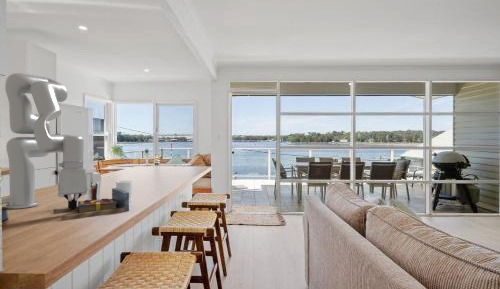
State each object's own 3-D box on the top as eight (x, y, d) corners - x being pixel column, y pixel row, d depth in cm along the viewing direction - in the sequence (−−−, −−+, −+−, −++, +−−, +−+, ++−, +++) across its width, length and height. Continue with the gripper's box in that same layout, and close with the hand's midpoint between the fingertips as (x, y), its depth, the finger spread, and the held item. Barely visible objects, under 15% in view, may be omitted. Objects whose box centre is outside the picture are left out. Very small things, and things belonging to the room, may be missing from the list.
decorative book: (77, 211, 146) (77, 199, 146) (117, 207, 154) (117, 196, 154) (78, 216, 136) (77, 204, 136) (120, 212, 144) (120, 201, 144)
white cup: (135, 200, 169) (135, 180, 169) (128, 203, 161) (128, 182, 161) (120, 199, 170) (120, 180, 170) (112, 202, 162) (112, 182, 162)
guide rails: (62, 220, 128) (62, 199, 128) (53, 212, 140) (53, 193, 140) (128, 210, 145) (128, 192, 145) (115, 205, 157) (115, 188, 157)
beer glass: (104, 203, 160) (104, 172, 159) (92, 206, 154) (92, 174, 153) (94, 202, 163) (94, 171, 162) (81, 205, 156) (81, 173, 156)
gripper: (53, 167, 130) (53, 214, 131) (94, 165, 140) (94, 209, 140) (50, 165, 136) (50, 210, 137) (90, 164, 145) (89, 206, 146)
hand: (72, 209), depth 138 cm, fingers closed
